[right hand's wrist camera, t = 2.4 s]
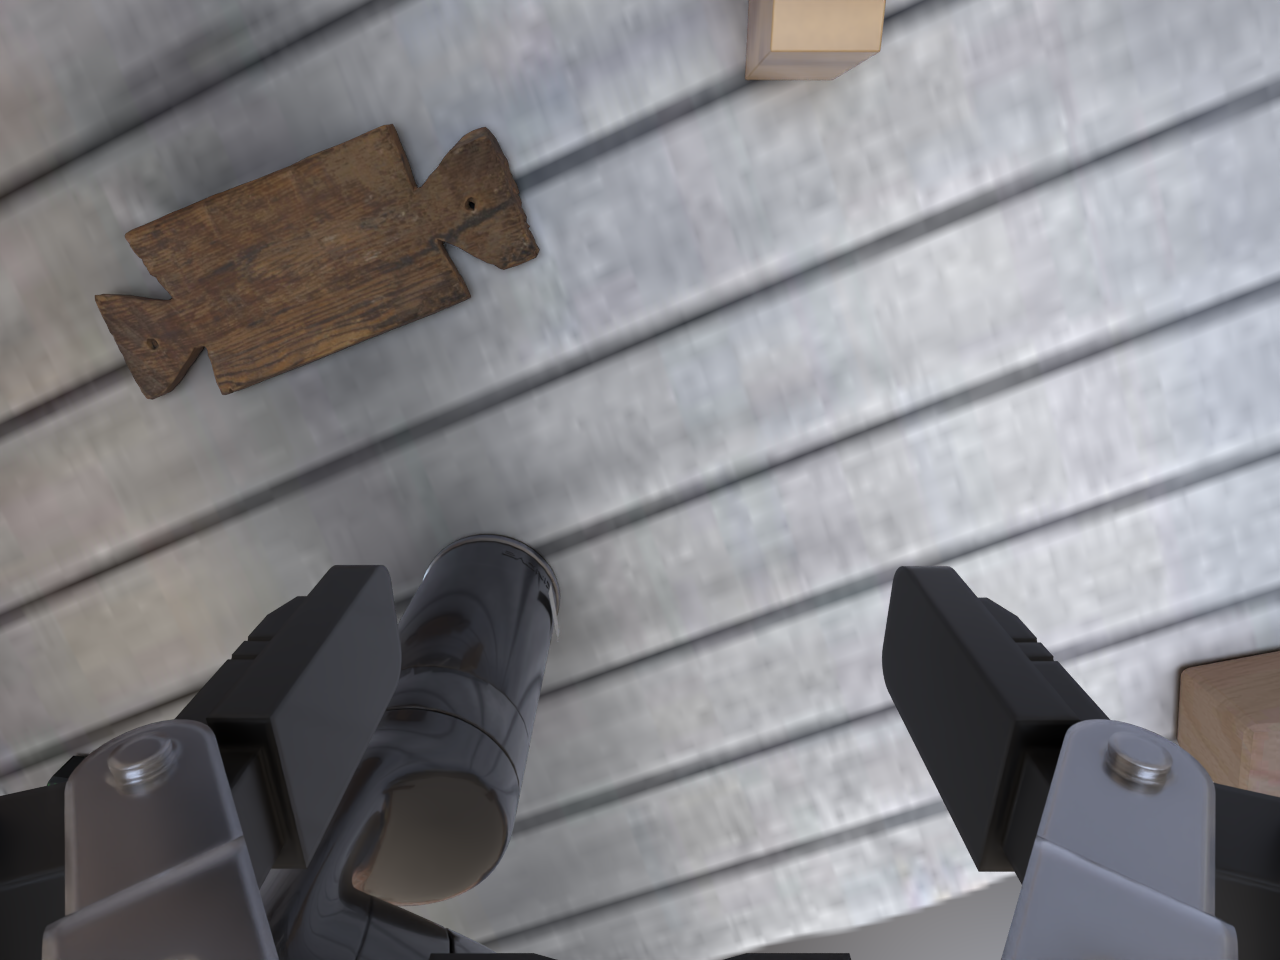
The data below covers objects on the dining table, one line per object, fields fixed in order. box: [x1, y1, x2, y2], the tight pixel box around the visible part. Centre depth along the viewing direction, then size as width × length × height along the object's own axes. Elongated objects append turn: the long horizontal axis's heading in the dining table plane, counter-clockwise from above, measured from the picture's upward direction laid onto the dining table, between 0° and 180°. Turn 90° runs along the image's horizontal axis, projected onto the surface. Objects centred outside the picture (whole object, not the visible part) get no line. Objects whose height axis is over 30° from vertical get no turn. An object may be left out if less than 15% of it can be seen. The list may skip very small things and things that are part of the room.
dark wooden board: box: [95, 124, 539, 399], centre depth 40 cm, size 26×2×10 cm
